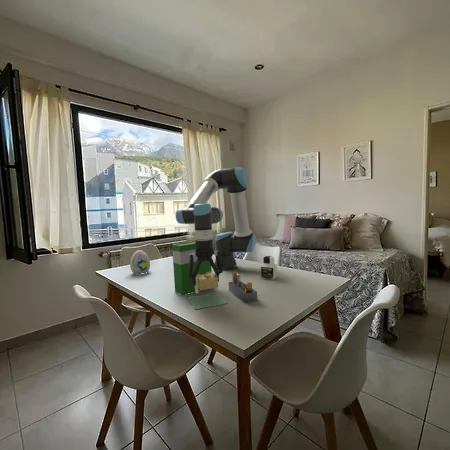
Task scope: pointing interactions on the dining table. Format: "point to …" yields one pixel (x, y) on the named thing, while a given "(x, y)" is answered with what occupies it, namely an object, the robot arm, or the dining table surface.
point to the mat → (206, 300)
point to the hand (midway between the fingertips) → (206, 290)
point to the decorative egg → (140, 262)
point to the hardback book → (186, 267)
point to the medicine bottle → (268, 268)
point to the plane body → (242, 289)
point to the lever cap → (207, 280)
